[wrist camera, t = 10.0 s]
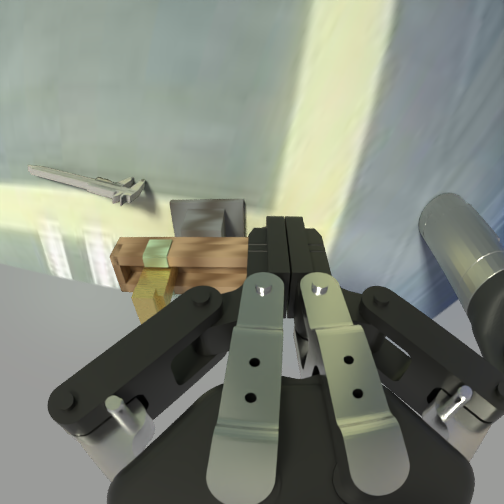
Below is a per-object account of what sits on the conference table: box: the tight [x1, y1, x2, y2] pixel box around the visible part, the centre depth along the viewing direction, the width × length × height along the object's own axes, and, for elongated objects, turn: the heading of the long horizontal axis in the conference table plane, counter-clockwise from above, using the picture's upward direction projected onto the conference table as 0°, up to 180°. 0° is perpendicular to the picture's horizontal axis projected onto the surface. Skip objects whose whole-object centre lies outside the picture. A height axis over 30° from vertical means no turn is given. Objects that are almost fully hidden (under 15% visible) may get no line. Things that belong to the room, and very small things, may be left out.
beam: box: [110, 199, 266, 295], centre depth 42 cm, size 22×10×10 cm, turn 90°
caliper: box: [28, 165, 145, 206], centre depth 38 cm, size 20×1×6 cm, turn 78°
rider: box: [131, 266, 179, 324], centre depth 37 cm, size 4×5×9 cm
